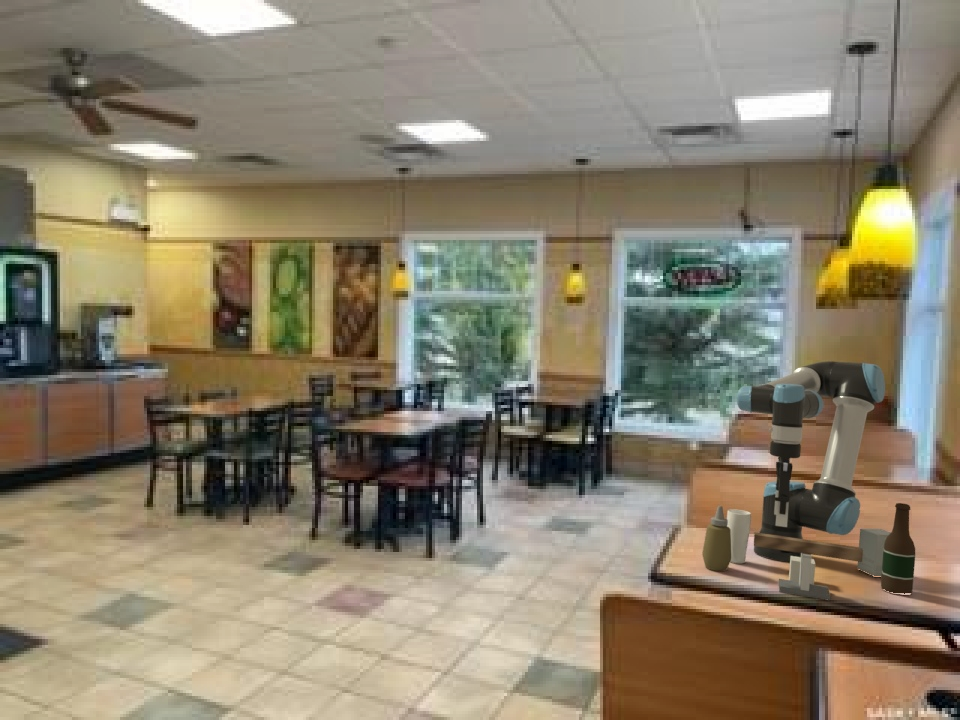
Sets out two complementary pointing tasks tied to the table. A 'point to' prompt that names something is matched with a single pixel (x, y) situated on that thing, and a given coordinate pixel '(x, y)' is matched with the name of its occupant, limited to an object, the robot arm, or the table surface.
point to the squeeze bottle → (717, 543)
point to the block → (795, 569)
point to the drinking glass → (739, 533)
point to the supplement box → (872, 550)
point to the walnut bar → (808, 547)
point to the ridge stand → (804, 582)
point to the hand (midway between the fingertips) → (780, 520)
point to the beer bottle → (899, 554)
